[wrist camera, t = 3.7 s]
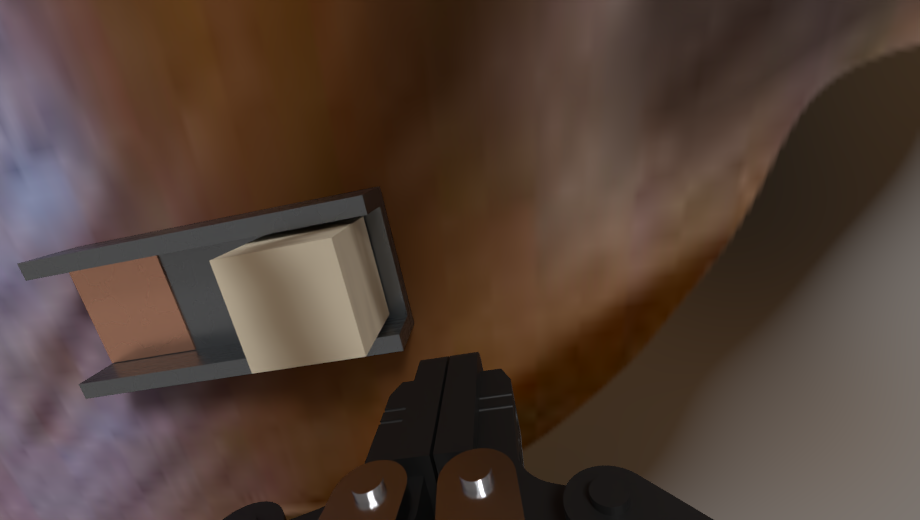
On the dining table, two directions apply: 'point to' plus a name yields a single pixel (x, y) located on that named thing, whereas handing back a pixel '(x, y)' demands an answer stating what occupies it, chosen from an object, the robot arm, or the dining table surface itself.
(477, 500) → the robot arm
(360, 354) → the birch block
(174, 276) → the chute
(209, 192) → the dining table surface
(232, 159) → the dining table surface
